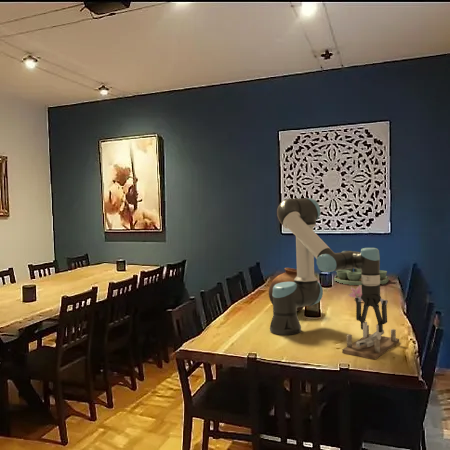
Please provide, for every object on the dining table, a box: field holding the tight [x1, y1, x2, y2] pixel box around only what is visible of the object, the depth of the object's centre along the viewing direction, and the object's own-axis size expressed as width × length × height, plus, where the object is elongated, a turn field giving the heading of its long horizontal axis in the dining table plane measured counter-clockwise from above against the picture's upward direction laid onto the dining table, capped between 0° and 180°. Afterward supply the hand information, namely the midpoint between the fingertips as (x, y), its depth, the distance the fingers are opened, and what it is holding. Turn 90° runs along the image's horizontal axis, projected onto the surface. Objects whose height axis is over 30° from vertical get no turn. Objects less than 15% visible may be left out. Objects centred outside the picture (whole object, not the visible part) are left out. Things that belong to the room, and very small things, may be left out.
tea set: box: [333, 268, 390, 286], centre depth 353 cm, size 40×40×16 cm
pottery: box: [268, 267, 305, 312], centre depth 265 cm, size 23×23×25 cm
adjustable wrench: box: [355, 329, 385, 347], centre depth 197 cm, size 25×6×2 cm, turn 139°
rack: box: [341, 324, 400, 360], centre depth 197 cm, size 14×27×6 cm, turn 140°
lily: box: [347, 285, 363, 302], centre depth 284 cm, size 12×12×10 cm
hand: (371, 338), depth 197 cm, fingers closed on adjustable wrench, 5 cm apart
